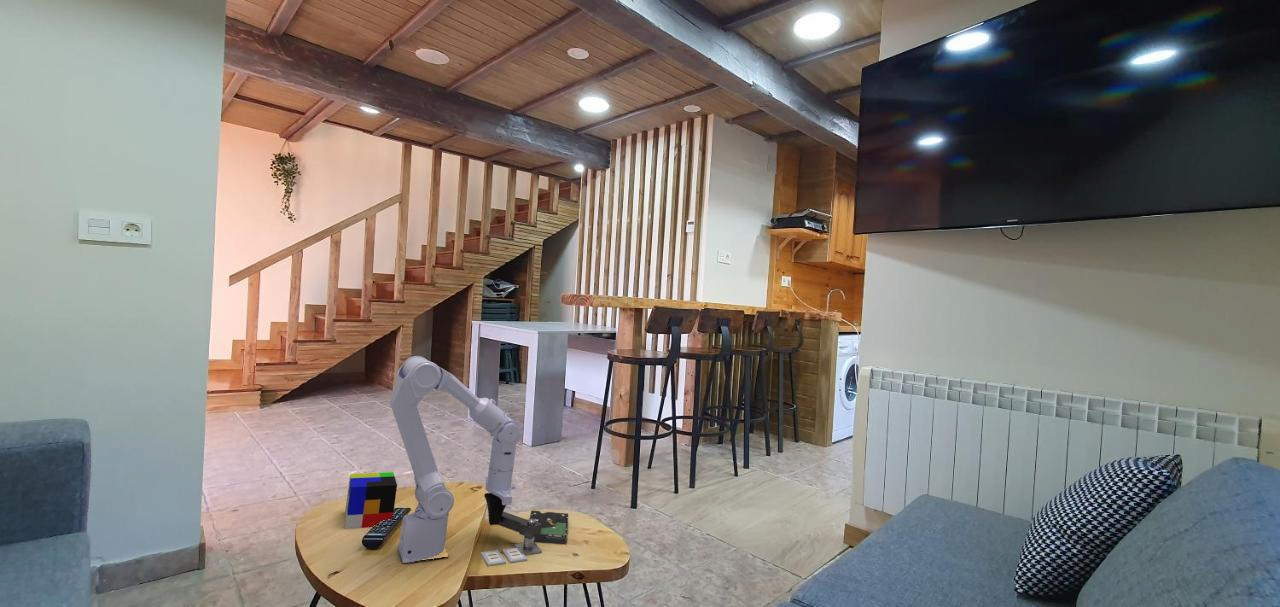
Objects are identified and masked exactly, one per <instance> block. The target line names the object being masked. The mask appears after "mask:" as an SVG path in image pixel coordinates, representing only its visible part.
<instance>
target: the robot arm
mask: <svg viewBox="0 0 1280 607" xmlns="http://www.w3.org/2000/svg"><path fill="white" fill-rule="evenodd" d="M433 389H434V390H436V391H446V392H447V393H449V394H450V395H451V396H452V397H453V398H455V399H456V400H458V401H459V402H460V403H462V404H463V406H465V407H466V408H468V411H469V414H468V415H469V417H470V418H471V420H473V421H474V422H475V423H476V424H478V425H479V426H480V427H482V428H483V429H484V430H485V431H486V432H487V433H489V434H490V436H491V437H493V438H492V444H491V451H490V457H489V466H488V474H487V476H486V479H485V491H486V492H488V493H484V495H483V496H484V499H485V502H486V506H487V514H488V523H489V525H490V526H494V525H495V526H499V525H498V524H499V522H500V519H501V516H502V513H503V511H504V510H505V509H506V507H507V506H511V505H512V502H513V495H512V490H515V489H516V487H517V486H516V484H514V483H512V480H513V475H514V474H513V473H514V466H515V464H514V463H515V457H516V448H517V444H518V442H519V441H520V440H521V438H522V436H523V432H522V428H521V425H520V423H519V422H517V421H515V420H513V419H512V418H510V416H511V415H510V413H509V412H507V411H503V410H502V409H501V408H500V407H499V406H498V405H497V401H496V400H494V399H493V398H490V399H489V398H488V397H478V396H477V395H476V394H474V393H473V392H472V391H471V390H470V389H469V388H468V387H467V386H466V385H465V384H464V383H463V382H461V381H460V380H459V378H457V377H456V376H455V375H453V374H452V373H451V372H449V371H447V370H445V368H442V367H440V366H438V364H436V363H435V362H432V361H430V360H428V359H427V358H425V357H424V356H420V355H415V356H411V357H409V358H407V359H405V361H404V362H403V364H402V365H400V367H399V369H398V370H397V371H396V379H395V383H394V386H393V390H392V392H391V393H392V394H391V397H390V402H389V403H390V407H391V411H392V413H393V416H394V419H395V423H396V426H397V428H398V431H399V434H400V437H401V440H402V443H403V446H404V447H405V451H406V454H407V458H408V460H409V463H410V466H411V469H412V472H413V475H414V478H413V480H414V482H415V489H414V497H415V499H416V501H417V502H418V503H417V505H416V507H415V510H414V512H412V513H409V514H405V515H403V517H402V521H401V527H400V536H399V543H398V546H397V548H398V552H399V556H400V558H401V561H402V564H410V562H411V563H415V561H418V560H422V559H428V558H430V557H431V558H432V557H434V556H437V555H439V554H440V553H442V552H443V550H444V546H445V545H446V538H447V530H448V523H449V515H450V514H449V513H450V512H451V510H452V509H453V506H454V502H455V497H454V495H453V493H452V492H451V491H450V490H449V489H447V486H446V485H445V482H444V480H443V478H442V476H441V474H440V471H439V470H438V467H437V464H436V460H435V456H434V453H433V451H432V448H431V445H430V442H429V440H428V437H427V433H426V430H425V427H424V424H423V422H422V419H421V414H420V413H419V408H418V406H419V404H420V403H421V401H422V400H423V398H424V397H425V396H426V395H427V394H428V393H430V392H431V391H432V390H433ZM504 512H505V511H504ZM445 547H446V546H445ZM418 562H419V561H418Z"/></svg>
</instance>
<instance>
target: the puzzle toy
mask: <svg viewBox="0 0 1280 607" xmlns="http://www.w3.org/2000/svg"><path fill="white" fill-rule="evenodd" d="M397 488H398V484H397V479H396V476H395V472H393V471H392V472H391V471H389V472H386V471H385V472H363V473H350V474H349V481H348V488H347V497H346V502H345V508H344V509H345V511H344V521H345V525H344V526H345V528H344V529H345V530H351V529H352V530H353V529H366V528H374V527H373V526H374V525H376V524H377V523H379V522H380V521H383V520H388V519H394V511H395V506H396V505H395V504H396V497H397V490H398V489H397Z"/></svg>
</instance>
